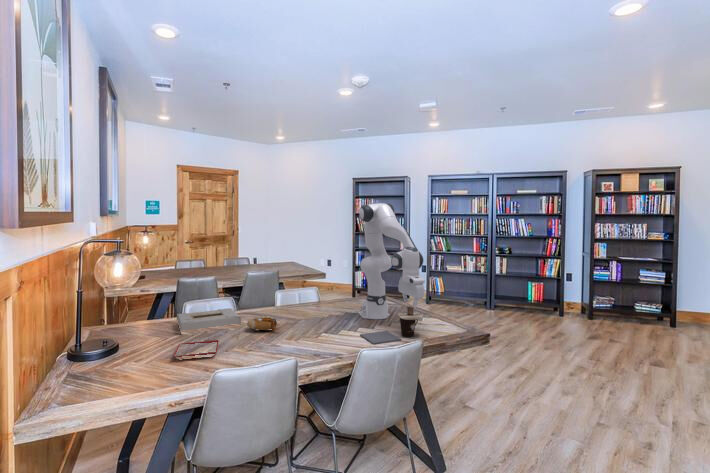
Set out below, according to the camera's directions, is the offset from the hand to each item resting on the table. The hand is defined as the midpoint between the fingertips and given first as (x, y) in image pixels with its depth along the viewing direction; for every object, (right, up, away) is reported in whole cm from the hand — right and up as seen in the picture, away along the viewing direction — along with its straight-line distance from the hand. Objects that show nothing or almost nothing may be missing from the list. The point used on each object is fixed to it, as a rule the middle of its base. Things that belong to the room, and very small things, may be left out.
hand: (410, 303), depth 208 cm
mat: (-16, -17, -4) cm, 24 cm away
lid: (0, -7, 0) cm, 7 cm away
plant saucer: (-102, -19, -28) cm, 107 cm away
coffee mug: (0, -17, +1) cm, 17 cm away
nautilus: (-79, -17, +8) cm, 81 cm away
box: (-114, -17, +18) cm, 117 cm away
